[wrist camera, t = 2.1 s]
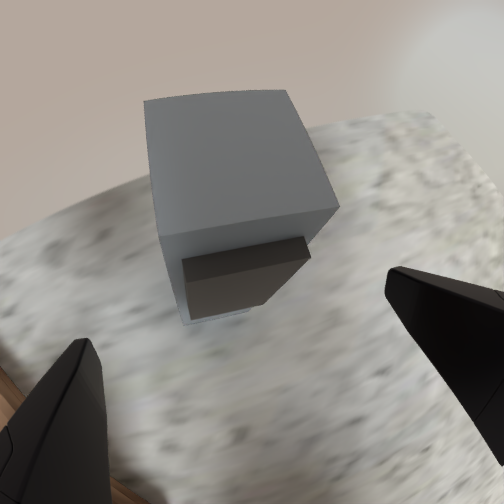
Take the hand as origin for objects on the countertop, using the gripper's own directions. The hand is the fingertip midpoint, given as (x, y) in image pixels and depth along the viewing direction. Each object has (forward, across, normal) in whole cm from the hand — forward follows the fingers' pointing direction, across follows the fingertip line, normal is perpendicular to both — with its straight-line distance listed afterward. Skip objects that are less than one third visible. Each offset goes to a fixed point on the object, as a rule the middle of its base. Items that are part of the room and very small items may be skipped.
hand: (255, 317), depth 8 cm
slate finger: (+10, 0, +5) cm, 11 cm away
